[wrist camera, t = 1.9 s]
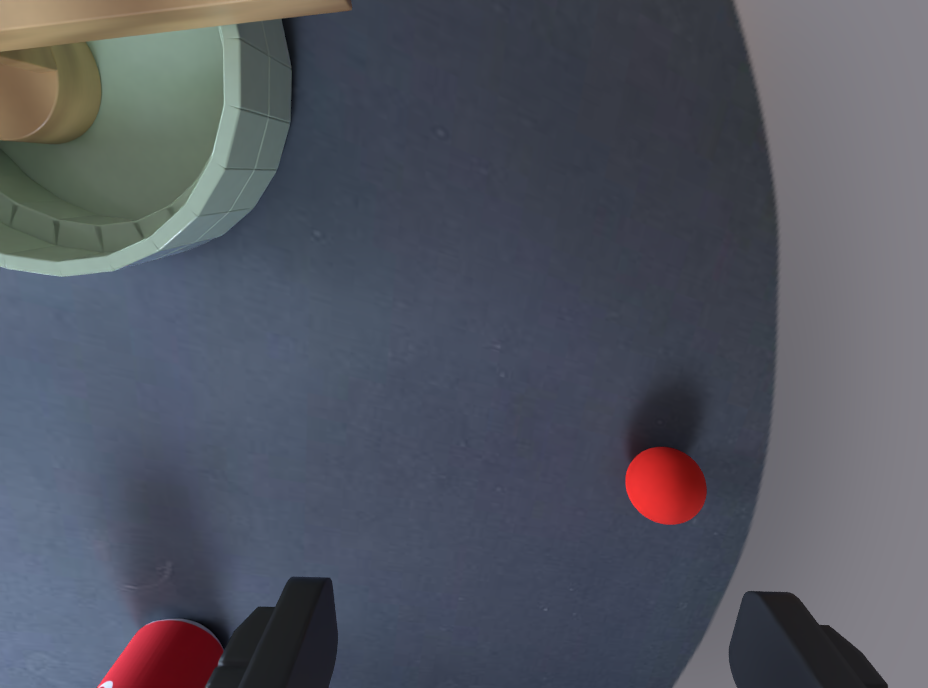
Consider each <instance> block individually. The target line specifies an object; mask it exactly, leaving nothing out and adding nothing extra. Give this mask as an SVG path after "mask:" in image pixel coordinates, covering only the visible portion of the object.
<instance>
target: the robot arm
mask: <svg viewBox="0 0 928 688" xmlns="http://www.w3.org/2000/svg"><path fill="white" fill-rule="evenodd" d="M337 645H338V631H337V621H336V612H335V603H334V594H333V585H332V581H331V579H330V578H320V577H291V578H290V579H289V580H288V582H287V583H286V585H285V587H284V589H283V591H282V594H281V596H280V598H279V600H278V602H277V604H276V607H257V608H256V609H255V611H254V612H253V613H252V614H251V615H250V616H249V617H248V618H247V619H246V620H245V621H244V622H243V623H242V624H241V625H240V626H239V627H238V628H237V629H236V630H235V631H234V633H233V635H232V636H231V638H230V640H229V642H228V644H227V646H226V648H225V650H224V652H223V653H222V655H221V657H220V659H219V661H218V666H217V667H215V669H214V670H213V672H212V674H211V676H210V678H209V680H208V682H207V684H206V686H205V688H328V687H329V684H330V680H331V677H332V673H333V669H334V665H335V660H336V654H337ZM729 663H730V668H731V672H732V675H733V678H734V681H735V684H736V685H737V688H888V685H887V683H886V682H885V681H884V680H883V678H882V677H881V676H880V675H879V673H878V672H877V671H876V670H875V668H874V667H873V666H872V665H871V663H870V662H869V661H868V660H867V658H866V657H865V656H864V655H863V653H862V652H860V651H859V650H858V649H857V648H856V647H855V646H853V645H852V644H851V643H850V642H848V641H847V640H846V639H845V638H844V637H842V636H841V635H840V634H839V633H838V632H836V631H835V630H834V629H833V628H831V627H830V626H829V625H819V624H818V623H817V622H816V620H815V619H814V618H813V616H812V615H811V614H810V612H809V611H808V610H807V608H806V607H805V606H804V604H803V603H802V602H801V601H800V599H799V598H797V597H796V596H795V595H794V594H792V593H788V592H760V591H748V592H746V593H745V594H744V596H743V598H742V602H741V605H740V609H739V613H738V617H737V620H736V624H735V627H734V631H733V635H732V638H731V642H730V646H729Z"/></svg>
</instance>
